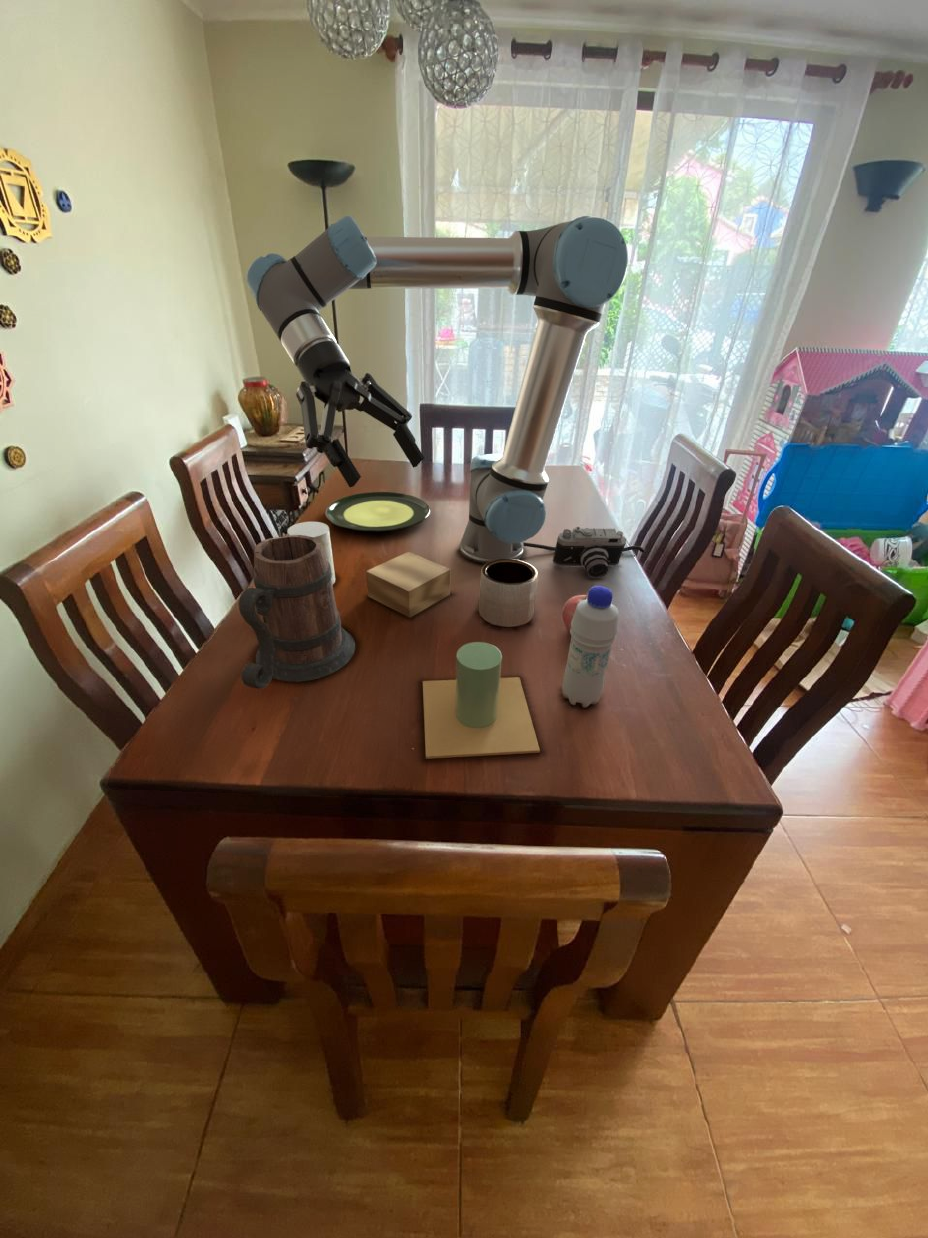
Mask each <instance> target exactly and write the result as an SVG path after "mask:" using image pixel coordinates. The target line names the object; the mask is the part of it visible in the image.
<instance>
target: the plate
mask: <svg viewBox="0 0 928 1238" xmlns="http://www.w3.org/2000/svg"><path fill="white" fill-rule="evenodd" d="M430 514H431V507H430V506H429V504H428V503H427V502H426V501H424V500H423V499H421V498H419V497H418V496H417V497H416V496H414V495H410V494H407V493H401V492H395V491H393V492H392V491H370V492H369V491H368V492H360V493H355V494H351V495H347V496H344V497H341V498H339V499H337V500H335V501H333V502H331V503H330V504H329V505H328V507H327V508H326V510H325V517H326V518H327V520H328V521H329V522H330V523H331V524H333V525H334V526H337V527H338V528H339V527H340V528H344V529H348V530H352V531H357V532H367V533H384V532H385V533H386V532H392V531H398V530H399V531H400V530H403V529H407V528H411V527H413V526H415V525H417V524H419V523H421V522H423V521H425V520H426V519H427V518H428V517H429V515H430Z"/></svg>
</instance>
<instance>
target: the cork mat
mask: <svg viewBox="0 0 928 1238" xmlns="http://www.w3.org/2000/svg"><path fill="white" fill-rule="evenodd" d="M520 678H521V677H519V676H518V677H517V676H516V677H515V676H514V677H512V676H511V677H501V678H500V689H499V701H498V713H497V718H496V720H495V721H494V722H493V723H492V724H491V725H489V726H486V727H483V728H472V727H468V726H465V725H464V724H462V723H461V722H460V721H459V720H458V719H457V717H456V714H455V701H456V679H441V680H440V679H439V680H422V697H423V698H422V699H423V719H424V720H423V721H424V722H423V724H424V745H425V748H424V749H425V759H426V760H429V759H430V760H431V759H446V758H465V757H485V756H502V755H518V754H519V755H521V754H522V755H523V754H539V753H540V752H541V750H540V749H541V748H540V746H539V742H538V739H537V735H536V730H535V728H534V724H533V720H532V716H531V713H530V710H529V707H528V703H527V700H526V695H525V692H524V689H523V686H522V682H521V679H520Z"/></svg>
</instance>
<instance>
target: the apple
mask: <svg viewBox="0 0 928 1238" xmlns="http://www.w3.org/2000/svg"><path fill="white" fill-rule="evenodd" d="M587 597H588V594H577V595H574V596H572V597H570V598H569V599H568V600H567V601H566V602H565V604H564V606H563V608H562V614H561V615H562V621H563V623H564V626H565V627H566V629H567V630H568V631H569V632H570V630H571V622H572V619H573V617H574V614H575V611H576V608H577V605H578V604H579V603H580V602H581V601H583V600H586V599H587Z"/></svg>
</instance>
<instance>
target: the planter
mask: <svg viewBox="0 0 928 1238" xmlns="http://www.w3.org/2000/svg"><path fill="white" fill-rule="evenodd" d="M538 572H539V571H538V570H537V568H536V567H535V566H533V565H532V564H530V563H529V562H526V561H525V560H524V561H523V560H520V559H519V560H515V559H498V560H493V561H490V562H488V563H486V564H483V565H482V567H481V569H480V585H479V586H480V587H479V599H478V612H479V615H480V617H481V618H482V619H483V620H484V621H485V622H487V623H489V624H491V625H493V626H496V627H501V628H516V627H520V626H523V625H526V624H527V623H529V622H530V621H531V620H532V619H533V618H534V614H535V608H536V607H535V606H536V595H537V587H538V578H539V573H538Z"/></svg>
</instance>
